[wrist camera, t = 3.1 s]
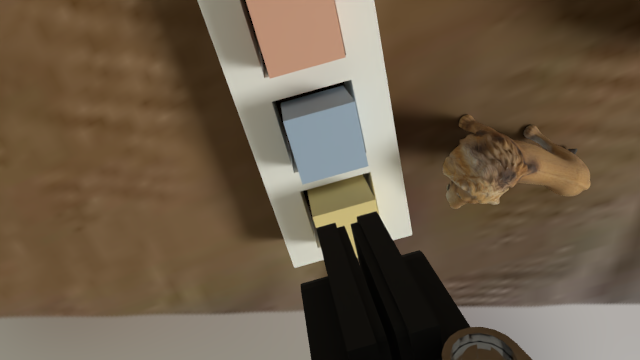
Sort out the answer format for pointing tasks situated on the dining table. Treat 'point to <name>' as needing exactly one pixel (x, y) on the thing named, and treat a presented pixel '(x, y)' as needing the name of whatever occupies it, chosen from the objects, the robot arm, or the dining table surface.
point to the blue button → (324, 134)
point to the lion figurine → (509, 165)
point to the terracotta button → (296, 33)
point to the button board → (261, 92)
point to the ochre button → (341, 203)
